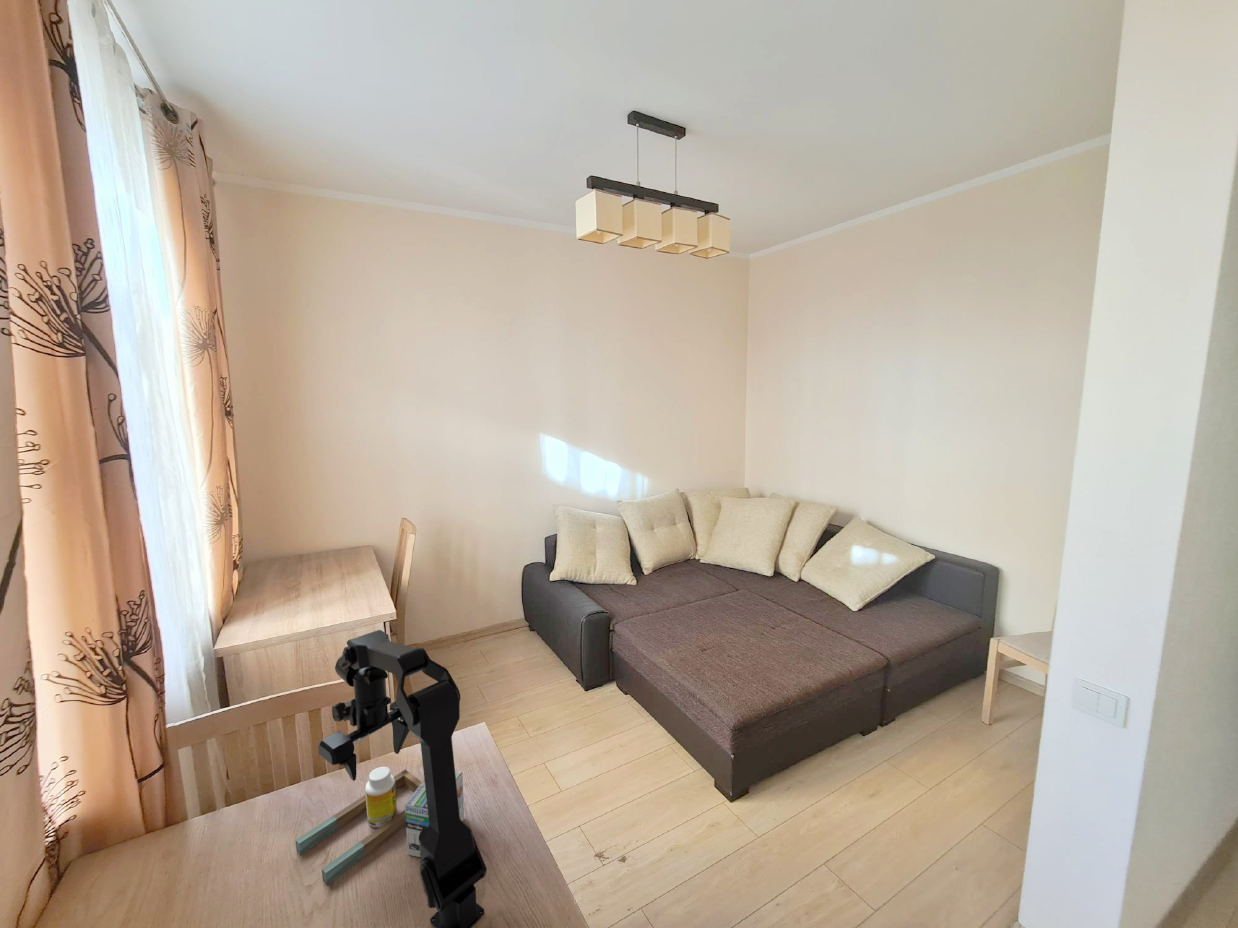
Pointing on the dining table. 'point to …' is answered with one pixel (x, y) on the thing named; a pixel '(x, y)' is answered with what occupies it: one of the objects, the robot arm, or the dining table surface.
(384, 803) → the supplement bottle
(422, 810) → the light bulb box
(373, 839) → the bay
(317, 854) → the dining table surface
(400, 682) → the robot arm
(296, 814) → the dining table surface
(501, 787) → the dining table surface
